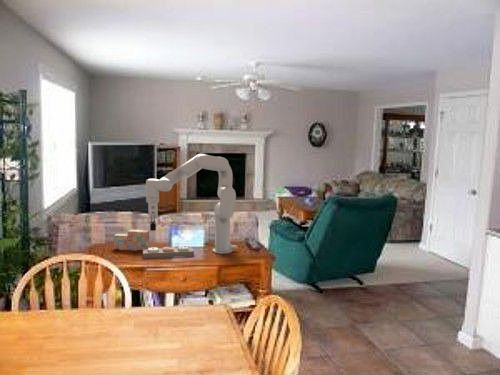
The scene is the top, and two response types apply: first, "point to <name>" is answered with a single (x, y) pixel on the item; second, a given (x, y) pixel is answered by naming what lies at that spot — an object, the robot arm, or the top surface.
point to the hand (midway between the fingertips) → (152, 229)
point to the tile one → (153, 249)
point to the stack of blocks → (132, 240)
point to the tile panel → (167, 253)
